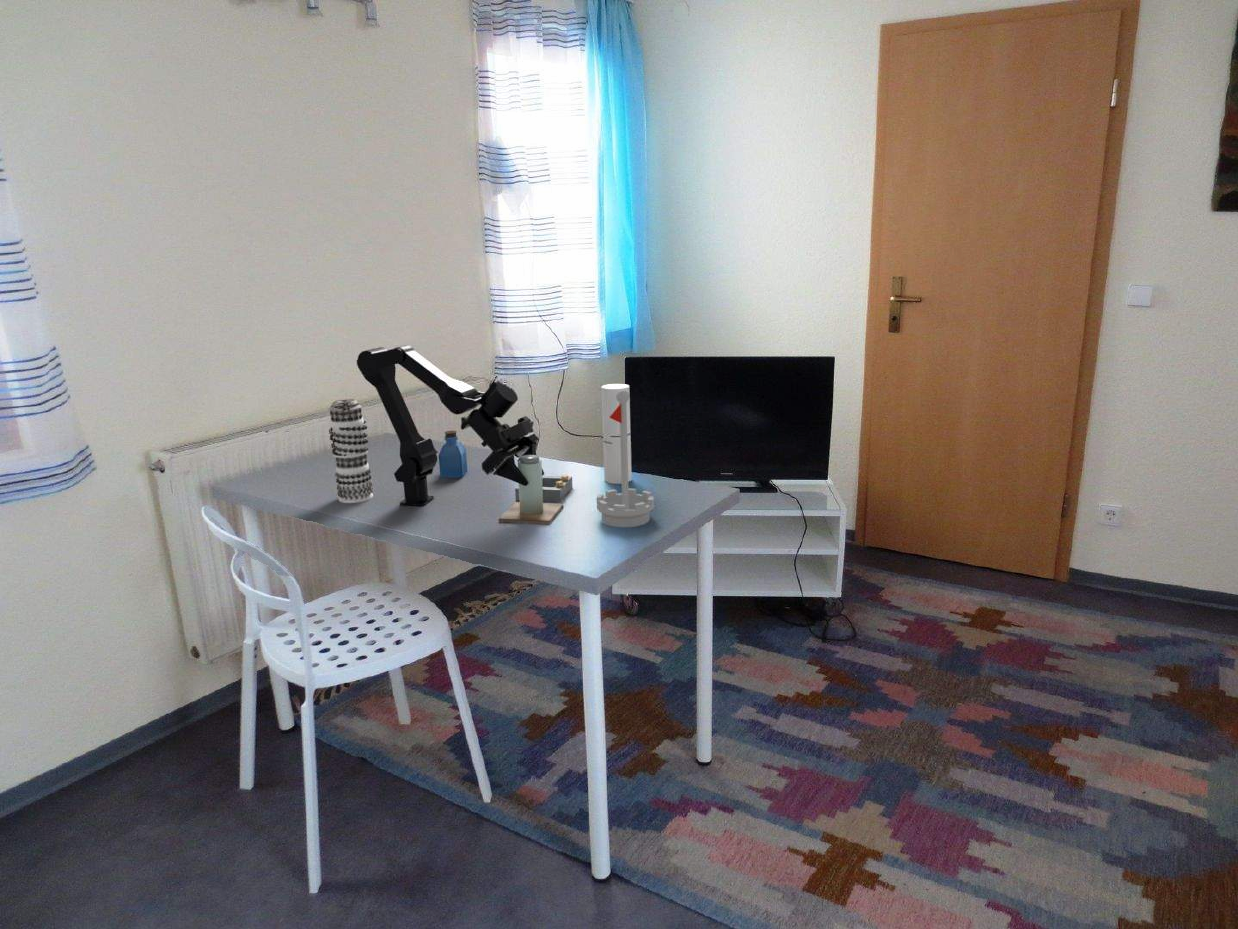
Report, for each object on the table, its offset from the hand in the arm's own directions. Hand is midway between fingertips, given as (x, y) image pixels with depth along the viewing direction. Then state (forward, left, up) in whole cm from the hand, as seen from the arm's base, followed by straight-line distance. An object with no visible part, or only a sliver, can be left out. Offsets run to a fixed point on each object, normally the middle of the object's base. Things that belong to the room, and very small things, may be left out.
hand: (535, 479), depth 197 cm
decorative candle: (+7, +50, -9) cm, 51 cm away
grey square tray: (+16, +3, -9) cm, 18 cm away
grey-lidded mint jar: (0, +1, -8) cm, 8 cm away
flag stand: (0, -21, -9) cm, 23 cm away
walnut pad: (0, +1, -9) cm, 9 cm away
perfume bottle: (+30, +33, -9) cm, 45 cm away
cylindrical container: (+30, -13, -9) cm, 34 cm away
